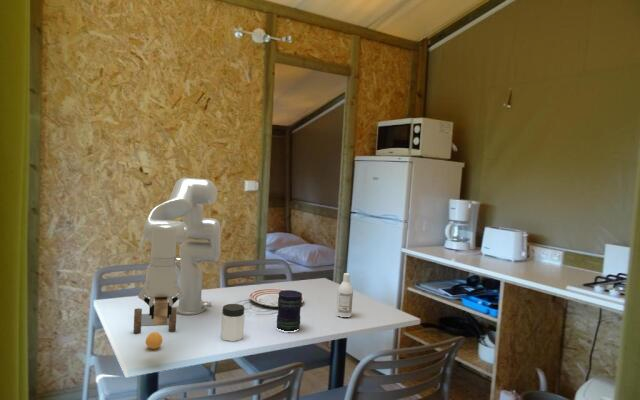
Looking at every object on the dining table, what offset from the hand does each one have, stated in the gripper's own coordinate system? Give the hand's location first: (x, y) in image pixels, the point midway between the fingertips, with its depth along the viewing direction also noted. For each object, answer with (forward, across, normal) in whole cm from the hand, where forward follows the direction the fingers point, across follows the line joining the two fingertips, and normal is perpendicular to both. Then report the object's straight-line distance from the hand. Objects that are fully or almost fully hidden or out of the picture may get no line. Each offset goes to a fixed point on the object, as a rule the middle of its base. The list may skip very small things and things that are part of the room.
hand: (160, 316), depth 143 cm
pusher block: (+1, 0, 0) cm, 1 cm away
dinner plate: (+15, -55, -60) cm, 83 cm away
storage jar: (+15, -51, -23) cm, 58 cm away
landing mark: (+15, +1, -41) cm, 44 cm away
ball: (+12, +1, -11) cm, 17 cm away
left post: (+15, +8, -27) cm, 32 cm away
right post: (+15, -5, -27) cm, 31 cm away
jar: (+15, -27, -17) cm, 35 cm away
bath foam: (+15, -81, -34) cm, 89 cm away
